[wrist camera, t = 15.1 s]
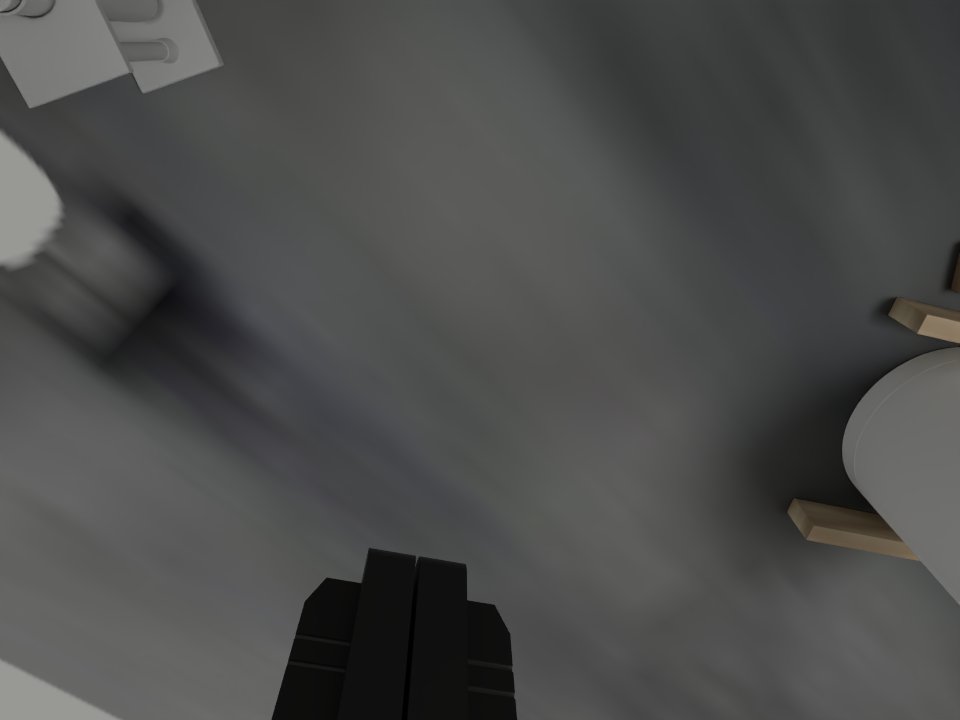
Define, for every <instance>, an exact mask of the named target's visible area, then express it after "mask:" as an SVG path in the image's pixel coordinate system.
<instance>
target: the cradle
mask: <svg viewBox="0 0 960 720" xmlns="http://www.w3.org/2000/svg"><path fill="white" fill-rule="evenodd" d="M888 315H889V316H890V317H892V318H894V319H895V320H897V321H898V322H900V323H901V324H903V325H905V326H906V327H908V328H909V329H911V330H912V331H914V332H915V333H917V334H921V335H925V336H930V337H934V338H939V339H943V340H947V341H952V342H956V343H960V312H959V311H955V310H951V309H946V308H942V307H938V306H934V305H929V304H925V303H921V302H917V301H912V300H908V299H904V298H899V297H897V298H896V300H895V302H894V304H893V306H892V308H891V310H890V312H889V314H888ZM787 513H788V514H789V516H790V517H791V519H792V520H793V522H794V523H795V524H796V526H797V527H798V529H799V530H800V532H801V533H802V535H803V536H804V537H805V539H806V540H810V541H815V542H820V543H826V544H831V545H837V546H842V547H847V548H853V549H858V550H864V551H869V552H874V553H880V554H885V555H891V556H896V557H901V558H907V559H912V560H918V561H920V560H919V558H918V557H917V556H916V555H915V554H914V553H913V552H912V551H911V549H910V548H909V547H908V546H907V545H906V544H905V543H904V541H903V540H902V539H901V538H900V537H899V536H898V535H897V534H896V532H895V531H894V530H893V529H892V528H891V527H890V526H889V524H888V523H887V522H886V521H885V520H884V519H883V518H882V517H881V515H878V514H873V513H868V512H863V511H858V510H852V509H847V508H842V507H837V506H832V505H826V504H821V503H816V502H811V501H806V500H800V499H795V498H794V499H793V501H792V503H791V505H790V507H789V509H788V511H787Z"/></svg>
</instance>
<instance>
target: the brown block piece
mask: <svg viewBox="0 0 960 720" xmlns="http://www.w3.org/2000/svg"><path fill="white" fill-rule="evenodd" d="M951 290H952V291H954V292H956V293H958V294H960V254H959V258H958V262H957V266H956V270H955V274H954V278H953V282H952V286H951Z"/></svg>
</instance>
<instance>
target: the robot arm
mask: <svg viewBox="0 0 960 720" xmlns="http://www.w3.org/2000/svg"><path fill="white" fill-rule="evenodd" d="M415 564H416V567H415ZM512 666H513V664H512V652H511V639H510V633H509V631H508V629H507V627H506V625H505V624H504V622H503V620H502V618H501V616H500V614H499V612H498V610H497V609H496V607H495V605H492V604H486V603H480V602H474V601H468V600H467V568H466V565H465V564H462V563H456V562H450V561H444V560H438V559H433V558H427V557H421V556H419V558H418V560H417V563H416V556H414V555H408V554H402V553H396V552H390V551H384V550H378V549H372V548H369V550H368V554H367V559H366V564H365V568H364V573H363V578H362V582H361V583H356V582H350V581H344V580H338V579H332V578H326V579H325V580H324V581H323V582H322V583H321V584H320V585H319V587H318V588H317V589H316V590H315V591H314V592H313V593H312V594H311V595H310V597H309V598H308V599H307V600H306V601H305V603H304V607H303V610H302V614H301V617H300V621H299V624H298V628H297V631H296V636H295V639H294V642H293V645H292V649H291V653H290V656H289V660H288V664H287V667H286V670H285V674H284V677H283V681H282V684H281V688H280V691H279V695H278V699H277V702H276V706H275V709H274V713H273V716H272V720H517V714H516V701H515V699H514V693H515V689H514V676H513V672H512Z"/></svg>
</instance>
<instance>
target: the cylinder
mask: <svg viewBox="0 0 960 720" xmlns="http://www.w3.org/2000/svg"><path fill="white" fill-rule="evenodd" d="M842 457H843V463H844V467H845V470H846V473H847V475H848V477H849V479H850V480H851V482H852V483H853V485H854V486H855V487H856V488H857V489H858V490H859V492H860V493H861V494H862V495H863V496H864V497H865V498H866V500H867V501H868V502H869V503H870V504H871V505H872V506H873V507H874V509H875V510H876V511H877V512H878V513H879V514H880V515H881V517H882V518H883V519H884V520H885V521H886V522H887V523H888V524H889V526H890V527H891V528H892V529H893V530H894V531H895V532H896V534H897V535H898V536H899V537H900V538H901V539H902V540H903V541H904V543H905V544H906V545H907V546H908V547H909V548H910V549H911V551H912V552H913V553H914V554H915V555H916V556H917V557H918V558H919V560H920V561H921V562H922V563H923V564H924V565H925V566H926V568H927V569H928V570H929V571H930V572H931V573H932V574H933V575H934V577H935V578H936V579H937V580H938V581H939V582H940V583H941V584H942V586H943V587H944V588H945V589H946V590H947V591H948V592H949V594H950V595H951V596H952V597H953V598H954V599H955V600H956V601H957V603H958V604H959V605H960V347H952V348H946V349H940V350H936V351H932V352H929V353H926V354H923V355H920V356H918V357H916V358H913V359H911V360H909V361H907V362H905V363H903V364H902V365H900V366H898V367H896V368H895V369H893V370H892V371H891V372H889V373H888V374H886V375H885V376H884V377H883V378H881V379H880V380H879V381H878V382H877V383H876V384H875V385H874V386H873V387H872V388H871V389H870V390H869V391H868V392H867V393H866V394H865V395H864V397H863V398H862V399H861V400H860V402H859V403H858V405H857V406H856V408H855V409H854V411H853V413H852V415H851V417H850V419H849V421H848V424H847V426H846V429H845V433H844V437H843V443H842Z"/></svg>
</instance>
